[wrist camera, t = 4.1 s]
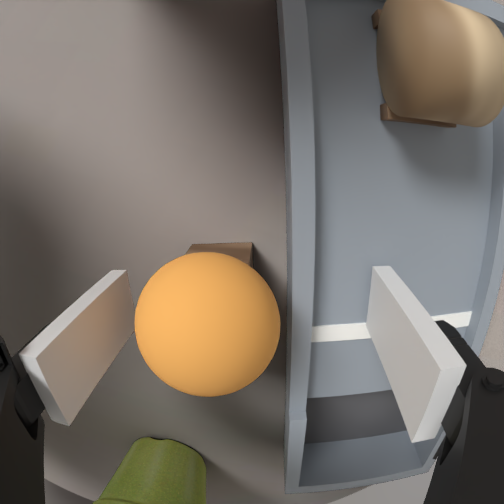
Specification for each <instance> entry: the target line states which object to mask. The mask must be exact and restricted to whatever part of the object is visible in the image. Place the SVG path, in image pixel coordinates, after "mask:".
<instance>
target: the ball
mask: <svg viewBox="0 0 504 504" xmlns="http://www.w3.org/2000/svg"><path fill="white" fill-rule="evenodd" d="M134 323H135V334H136V340H137V344H138V347H139V350H140V352H141V354H142V356H143V358H144V360H145V362H146V363H147V365H148V366H149V367H150V369H151V370H152V371H153V372H154V373H155V374H156V375H157V376H158V377H159V378H160V379H161V380H162V381H164V382H165V383H166V384H168V385H169V386H171V387H173V388H175V389H177V390H179V391H181V392H184V393H187V394H191V395H195V396H203V397H213V396H221V395H226V394H230V393H233V392H236V391H238V390H240V389H242V388H244V387H246V386H247V385H249V384H250V383H252V382H253V381H254V380H255V379H257V378H258V377H259V376H260V375H261V374H262V373H263V371H264V370H265V369H266V368H267V366H268V365H269V363H270V361H271V360H272V358H273V356H274V354H275V351H276V348H277V345H278V341H279V337H280V314H279V310H278V306H277V302H276V300H275V297H274V295H273V293H272V291H271V289H270V288H269V286H268V284H267V283H266V281H265V280H264V279H263V278H262V277H261V276H260V275H259V274H258V273H257V272H256V271H255V270H254V269H253V268H251V267H250V266H249V265H247V264H246V263H244V262H242V261H241V260H239V259H237V258H234V257H232V256H229V255H225V254H221V253H215V252H198V253H191V254H187V255H184V256H181V257H178V258H176V259H174V260H172V261H170V262H169V263H167V264H165V265H164V266H163V267H161V268H160V269H159V270H158V271H157V272H156V273H155V274H154V275H153V276H152V277H151V278H150V279H149V281H148V282H147V284H146V285H145V287H144V289H143V290H142V292H141V295H140V297H139V300H138V303H137V307H136V311H135V322H134Z"/></svg>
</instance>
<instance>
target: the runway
mask: <svg viewBox="0 0 504 504" xmlns="http://www.w3.org/2000/svg"><path fill="white" fill-rule="evenodd" d="M444 1H447V2H451V3H454V4H457V5H460V6H462V7H465V8H468V9H471V10H474V11H476V12H479V13H481V14H483V15H485V16H487V17H488V18H490V19H491V20H492V21H493V22H494V23H495V24H496V26H497V27H498V28H499V30H500V32H501V33H502V35H503V37H504V6H502V5H500V4H498V3H496V2H494V1H492V0H444ZM276 2H277V15H278V29H279V43H280V59H281V77H282V96H283V117H284V143H285V173H286V217H287V356H286V399H285V429H284V476H285V494H295V493H311V492H322V491H332V490H340V489H348V488H355V487H361V486H367V485H373V484H378V483H384V482H388V481H393V480H398V479H402V478H406V477H410V476H415V475H418V474H422V473H426V472H428V471H429V469H430V468H431V466H432V465H433V463H434V462H435V460H436V459H433V457H434V455H435V453H436V451H437V450H438V448H439V446H440V444H441V443H442V441H443V439H444V437H445V435H446V433H445V431H444V429H443V427H442V425H441V427H440V429H439V431H438V433H437V435H436V437H435V438H433V439H428V440H424V441H419V442H414V443H411V440H410V437H409V434H408V431H407V428H406V425H405V423H404V420H403V417H402V414H401V412H400V409H399V406H398V404H397V401H396V398H395V396H394V393H393V390H392V388H391V385H390V383H389V380H388V378H387V375H386V373H385V370H384V368H383V365H382V363H381V360H380V358H379V355H378V353H377V350H376V348H375V346H374V343H373V341H372V338H371V336H370V334H369V331H368V329H367V327H366V321H367V313H368V305H369V296H370V287H371V277H372V266H391V268H392V269H393V270H394V271H395V272H396V274H397V275H398V276H399V277H400V278H401V280H402V281H403V282H404V283H405V284H406V286H407V287H408V288H409V289H410V291H411V292H412V293H413V294H414V296H415V297H416V298H417V299H418V301H419V302H420V303H421V304H422V306H423V307H424V308H425V309H426V311H427V312H428V313H429V315H430V316H431V317H432V319H433V320H434V321H439V320H444V321H446V322H447V323H449V324H450V325H452V326H453V327H455V328H456V330H457V331H458V332H459V333H460V335H461V338H464V340H465V341H466V342H467V345H469V346H470V347H471V349H472V350H473V351H474V353H475V354H476V355H477V356H478V357H479V354H480V351H481V348H482V345H483V342H484V339H485V336H486V333H487V330H488V327H489V324H490V321H491V317H492V314H493V310H494V307H495V303H496V299H497V295H498V291H499V287H500V283H501V279H502V274H503V270H504V106H503V108H502V110H501V112H500V113H499V115H498V116H497V117H496V118H495V119H494V120H493V121H492V122H491V123H489V124H487V125H486V126H483V127H470V126H464V125H459V124H456V128H445V127H438V126H431V125H423V124H414V123H405V122H395V121H383V120H380V105H381V104H384V103H386V101H385V99H384V97H383V93H382V90H381V86H380V82H379V77H378V69H377V56H376V43H377V31H378V29H373V25H372V18H371V16H372V15H373V13H374V12H375V11H376V10H377V9H381V10H382V9H383V6H384V4H385V2H386V0H276Z"/></svg>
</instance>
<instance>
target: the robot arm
mask: <svg viewBox="0 0 504 504" xmlns="http://www.w3.org/2000/svg"><path fill="white" fill-rule="evenodd" d="M134 322H135V309H134V304H133V300H132V295H131V290H130V285H129V280H128V275H127V270H111V271H110V272H109V273H108V274H106V275H105V276H104V277H103V278H102V279H101V280H99V281H98V282H97V283H96V284H95V285H93V286H92V287H91V288H90V289H89V290H88V291H87V292H85V293H84V294H83V295H82V296H81V297H80V298H79V299H77V300H76V301H75V302H74V303H73V304H72V305H71V306H69V307H68V308H67V309H66V310H65V311H64V312H63V313H62V314H61V315H59V316H58V317H57V318H56V319H55V320H54V321H53V322H52V323H50V324H48V325H46V326H45V327H44V328H43V329H42V330H41V331H40V332H39V333H38V335H35V336H34V337H33V338H32V341H29V342H28V343H27V344H26V345H25V346H24V347H23V348H22V349H21V350H20V351H19V352H18V353H16V354H15V355H14V356H13V357H12V358H11V356H10V354H9V352H8V349H7V347H6V345H5V342H4V340H3V338H2V337H1V336H0V504H45V493H44V420H43V418H42V417H41V415H40V414H41V413H42V412H43V410H44V409H46V411H47V413H48V414H49V416H50V418H51V420H52V421H54V422H57V423H60V424H64V425H67V426H70V425H71V423H72V422H73V420H74V418H75V417H76V415H77V414H78V412H79V411H80V409H81V408H82V406H83V405H84V403H85V402H86V400H87V399H88V397H89V396H90V394H91V393H92V391H93V390H94V388H95V387H96V385H97V384H98V382H99V381H100V379H101V378H102V376H103V375H104V373H105V372H106V370H107V369H108V368H109V366H110V365H111V363H112V362H113V360H114V359H115V357H116V356H117V354H118V353H119V352H120V350H121V349H122V347H123V346H124V344H125V343H126V342H127V340H128V339H129V337H130V336H131V335H132V333H133V332H134V330H135V323H134ZM366 327H367V329H368V331H369V334H370V336H371V338H372V341H373V343H374V346H375V348H376V350H377V353H378V355H379V358H380V360H381V363H382V365H383V368H384V370H385V373H386V375H387V378H388V380H389V383H390V385H391V388H392V390H393V393H394V396H395V398H396V401H397V404H398V406H399V409H400V412H401V414H402V417H403V420H404V423H405V425H406V428H407V431H408V434H409V437H410V440H411V443H414V442H419V441H424V440H428V439H433V438H435V437H436V435H437V433H438V431H439V429H440V427H441V425H442V427H443V429H444V431H445V433H446V435H445V437H444V439H443V441H442V443H441V444H440V446H439V448H438V450H437V451H436V453H435V455H434V457H433V459H436V458H437V457H438V458H437V462H436V465H435V469H434V472H433V476H432V479H431V483H430V486H429V489H428V492H427V495H426V498H425V501H424V504H504V372H503V371H501V370H498V369H495V368H486V367H485V366H484V364H483V363H482V362H481V360H480V359H479V358H478V356H477V355H476V354H475V353H474V351H473V350H472V349H471V347H470V346H469V345H467V342H466V341H465V340H464V338H461V335H460V333H459V332H458V331H457V330H456V328H455V327H453V326H452V325H450V324H449V323H447V322H446V321H444V320H439V321H434V320H433V319H432V317H431V316H430V315H429V313H428V312H427V311H426V309H425V308H424V307H423V306H422V304H421V303H420V302H419V301H418V299H417V298H416V297H415V296H414V294H413V293H412V292H411V291H410V289H409V288H408V287H407V286H406V284H405V283H404V282H403V281H402V280H401V278H400V277H399V276H398V275H397V274H396V272H395V271H394V270H393V269H392V268H391V266H372V277H371V287H370V296H369V305H368V313H367V321H366Z"/></svg>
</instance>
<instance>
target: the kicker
mask: <svg viewBox="0 0 504 504" xmlns="http://www.w3.org/2000/svg"><path fill="white" fill-rule="evenodd" d="M371 18H372V25H373V29H378V31H377V43H376V56H377V69H378V77H379V82H380V86H381V90H382V93H383V97H384V99H385V101H386V103H384V104H381V105H380V120H383V121H395V122H405V123H414V124H423V125H431V126H438V127H445V128H456V124H459V125H464V126H470V127H483V126H486V125H487V124H489V123H491V122H492V121H493V120H494V119H495V118H496V117H497V116H498V115H499V113H500V112H501V110H502V108H503V106H504V37H503V35H502V33H501V32H500V30H499V28H498V27H497V26H496V24H495V23H494V22H493V21H492V20H491V19H490V18H488V17H487V16H485V15H483V14H481V13H479V12H476V11H474V10H471V9H468V8H465V7H462V6H460V5H457V4H454V3H451V2H447V1H444V0H386V2H385V4H384V6H383V9H382V10H381V9H377V10H376V11H375V12H374V13H373V15H372V16H371Z"/></svg>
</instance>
